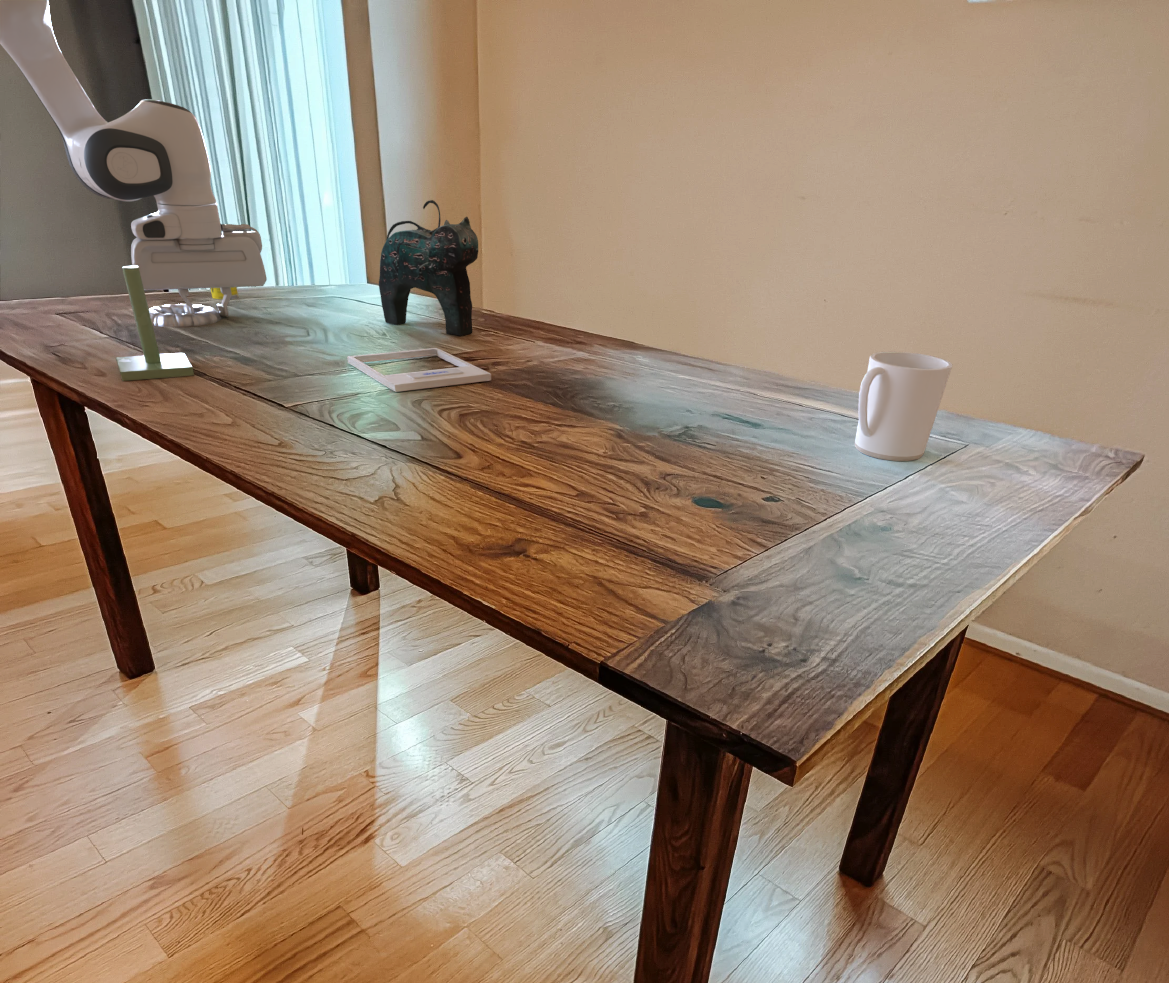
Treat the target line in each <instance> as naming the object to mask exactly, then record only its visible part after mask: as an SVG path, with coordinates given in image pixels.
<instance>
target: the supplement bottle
mask: <svg viewBox="0 0 1169 983" xmlns="http://www.w3.org/2000/svg"><path fill="white" fill-rule="evenodd" d="M230 288H231V293H232V295H231V298H230V300H234V299H238V298H239V292H238V287H230ZM209 289H210V293H211V298H212V299H214V300H223V297H224V294H222V293H221V289H220V288H209Z"/></svg>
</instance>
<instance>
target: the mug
mask: <svg viewBox="0 0 1169 983" xmlns="http://www.w3.org/2000/svg"><path fill="white" fill-rule="evenodd" d="M952 369H953V363H952V362H951V361H950V360H947V359H946V358H942V357H939V356H935V355H930V354H925V353H919V352H910V351H895V350H893V351H891V350H890V351H889V350H888V351H877V352H874V353H872V354H870V356H869V360H868V365H867V369H866V370H867V371H866V373H865V374H864V376H863V378H862V380H861V382H860V387H859V392H858V405H857V407H858V408H857V409H858V410H857V411H858V422H857V423H858V424H857V427H856V434H855V439H854V446H855V449H856V450H857V451H858V452H860V453H861V454H863V455H866V456H868V457H872V458H875V459H879V460H885V461H894V462H909V461H916V460H919V459H921V458H922V457H923V456H924V455H925V451H926V448H927V445H928V443H929V439H930V436H931V433H932V430H933V427H934V423H935V421H936V417H937V415H938V411H939V408H940V405H941V402H942V399H943V396H944V393H945V390H946V387H947V383H948V381H949V378H950V374H951V371H952Z"/></svg>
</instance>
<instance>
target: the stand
mask: <svg viewBox="0 0 1169 983" xmlns="http://www.w3.org/2000/svg"><path fill="white" fill-rule="evenodd" d="M121 270H122V274H123V278H124V282H125V285H126V289H127V294H128V297H129V298H128V299H129V302H130V306H131V310H132V314H133V318H134V322H135V325H136V330H137V333H138V339H139V342H140V347H141V349H142V350H141V351H142V353H143V355H130V356H129V355H128V356H116V357H115V360H116V364H117V367H118V371H119V375H120V378H121V381H122V382H128V381H129V382H130V381H141V380H154V379H156V380H157V379H168V378H181V377H192V376H193V377H194V376H195V373H194V368H193V366H192V364H191V362H190V360H189V359H188V357H187V355H186V354H185V352H175V353H160V351H159V350H160V349H159V346H158V341H157V338H156V333H155V329H154V326H153V325H152V321H151V316H150V312H149V309H150V308H149V305H148V301H147V296H146V292H145V291H146V290H144V287H143V283H142V279H141V275H140V271H139V267H138V266H132V265H123V266H122V267H121Z"/></svg>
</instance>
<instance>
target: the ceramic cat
mask: <svg viewBox="0 0 1169 983" xmlns="http://www.w3.org/2000/svg"><path fill="white" fill-rule="evenodd" d="M429 204H433V205H434V206H435V207H436V209H437V213H438V224H437V227H436V228H434V229H433V230H431V229H429V228H425V227H423V226H421V225H420V224H418V223H417V222H414V221H412V220H401V221H398V222H396V223H393V224H392V226H390V228H389V230H388V232H387V235H386V240H385V242H384V244H383V246H382V249H381V253H380V260H379V278H378V291H379V295H380V304H381V308H382V312H383V317H384V321H385V323H386V324H390V325H395V326H396V325H397V326H399V325H404V324H406V323H407V313H408V312H407V310H408V305H409V304H408V303H409V296H410V293H411V290H412V289H417V290H421V291H424V292H428V293H431V294H433V295H434V296H435V297H436V299H437V301H438V304H439V305H440V307H441V310H442V312H443V315H444V320H445V321H444V322H445V334H446V335H455V336H459V337H463V336H467V335H471V334H473V318H472V317H473V316H472V315H473V301H472V298H471V296H472V295H471V282H470V278H469V274H468V270H467V267H468V266H470V265H472V264H473V263H474V262H475V261H476V260H478V256H479V239H478V235H477V233H475V231H474V230H473V229H472V226H471V221H470V219H469V217H468V216H465V217H464V218H463V219H462V220H461V221H460V222H459V223H456V224H454V223H450V222H449V220H448V219H445V221H444V223H443V225H441V210H440V207H439V206H440V205H439V204H438V203H437V202H436V201H435V200H433V199H429V200H426V202H425V203H424V204H423V206H422V209H423V210H425V209H426V207H427V206H428V205H429ZM406 224H410V225H413V226H415V227H416V229H406V230H400V231H399V230H398V231H395V232H394V233H392V232H393V231H394V230H395V228H396V227H398V226H401V225H402V226H403V225H406ZM391 233H392V234H391Z"/></svg>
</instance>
